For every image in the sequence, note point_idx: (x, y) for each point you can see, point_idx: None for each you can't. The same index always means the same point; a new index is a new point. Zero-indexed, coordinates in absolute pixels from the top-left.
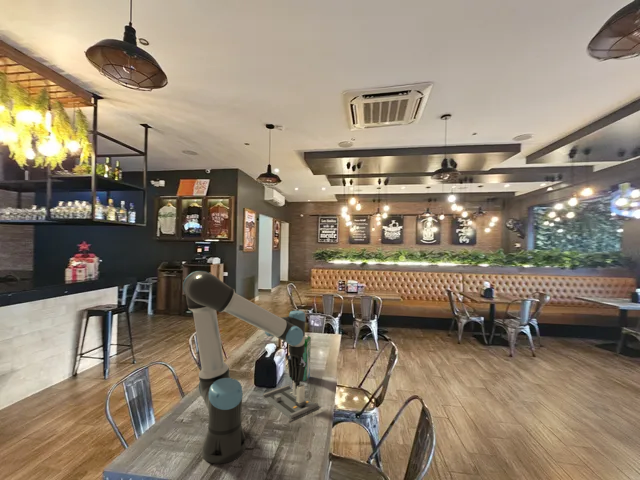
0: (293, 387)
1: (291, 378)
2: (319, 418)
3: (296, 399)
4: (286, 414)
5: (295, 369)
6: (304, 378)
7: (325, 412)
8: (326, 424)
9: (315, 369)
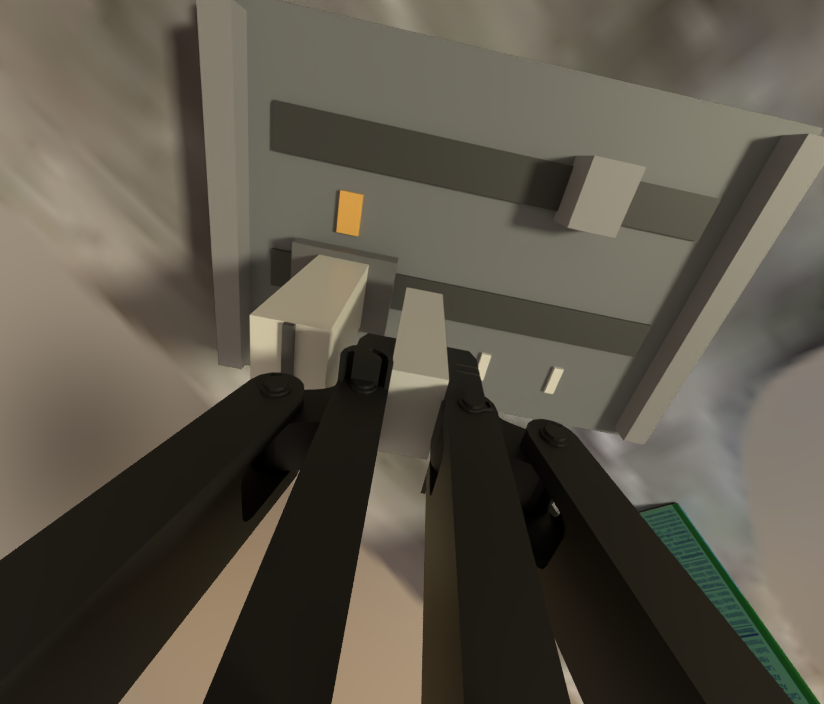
0: (424, 328)
1: (683, 526)
2: (134, 258)
3: (364, 269)
4: (311, 29)
5: (314, 647)
6: None
7: (178, 348)
8: (34, 229)
9: None
